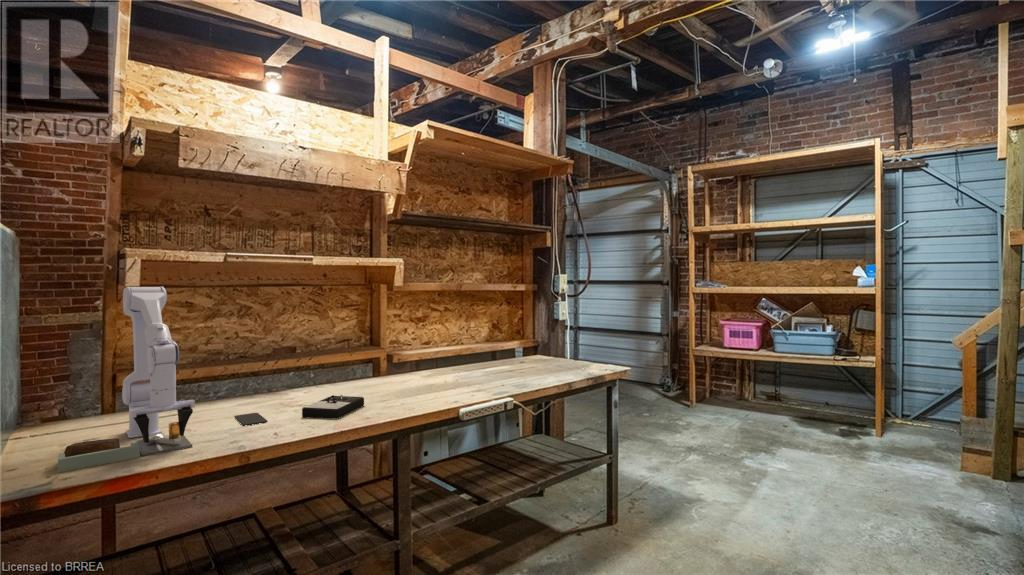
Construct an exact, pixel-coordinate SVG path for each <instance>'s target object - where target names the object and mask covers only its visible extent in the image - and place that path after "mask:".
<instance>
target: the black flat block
mask: <svg viewBox="0 0 1024 575" xmlns="http://www.w3.org/2000/svg"><path fill="white" fill-rule="evenodd" d="M363 405H364V406H365V398H364V397H363V396H347V395H343V394H342V395H341V394H340V395H334V394H333V395H330V396H327V397H324V398H323V399H320V400H318V401H316V402H312V403H310V404H308V405H306V406H303V407H302V408H301V409H302V410H301V417H302V418H306V417H313V418H312V419H325V418H338V419H340V418H342V417H344V416H343V415H345V414H347V413H349V412H351V411H353V410H355V409H357V408H359V407H361V406H363ZM364 406H363V407H364ZM361 408H362V407H361ZM359 409H360V408H359ZM357 410H358V409H357ZM355 411H356V410H355ZM353 412H354V411H353ZM351 413H352V412H351ZM349 414H350V413H349ZM347 415H348V414H347ZM341 416H342V417H341ZM345 416H346V415H345ZM339 417H340V418H339Z"/></svg>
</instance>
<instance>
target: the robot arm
mask: <svg viewBox="0 0 1024 575" xmlns="http://www.w3.org/2000/svg"><path fill="white" fill-rule="evenodd" d="M167 296H168V295H167V289H166V288H165V287H164V286H163V285H162V286H126V287H125V288H124V289H123V291H122V309H123V310H122V311H123V315H125V316H128V317H130V319H131V322H132V342H133V344H132V345H133V346H132V347H133V371H132V372H131V373H130V374H129V375H127V376H125V377H124V378H123V381H122V389H121V390H122V391H121V397H122V402H123V404H124V405H127V406H128V429H126V430H125V433H126V436H127V437H128V438H129V439H133V438H138V437H142V440H143V442H145V443H149V435H150V434H154V433H163V430H162V429H161V428H160V425H159V424H160V420H159V419H160V416H159V415H160V413H166V412H171V411H177V416H178V417H177V418H178V421H177V422H181V436H183V435H184V436H185V430H186V427H187V424H188V422H189V420H190V417H191V416H192V414H193V412H194V411H193V410H194V409H193V408H196V407H195V406H196V403H195V402H196V401H195V399H187V400H179V401H178V400H177V388H176V387H177V369H176V368H177V366H176V365H178V363H179V361H180V360H179V359H180V351H179V350H180V349H179V346H178V344H177V343H176V341H175V340H173V338H172V336H171V331H170V328H169V326H168V325H167V324H165V323H164V322H163V317H162V316H163V315H162V311H163V309H164V308H165V305H166V304H167V300H168V299H167Z"/></svg>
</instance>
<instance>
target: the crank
mask: <svg viewBox="0 0 1024 575" xmlns="http://www.w3.org/2000/svg"><path fill="white" fill-rule="evenodd" d="M168 435H169V436H168ZM155 442H160V443H169V444H176V443H179V442H181V422H179V421H173V422H170V423H168V434H165V433H164V432H162V433H154V434H150V435H149V443H155Z"/></svg>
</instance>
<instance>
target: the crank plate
mask: <svg viewBox="0 0 1024 575" xmlns="http://www.w3.org/2000/svg"><path fill="white" fill-rule="evenodd" d="M167 435H168V436H169V434H167ZM136 441H137V443H138V445H139V453H140V454H141V456H142V457H148V456H150V455H157V454H163V452H164V453H167V452H169V453H170V452H174V451H179V450H183V448H185V449H189V448H188V447H190V448H193V444H192V443H191V441H190V440H188V438H187V437H186V436H185V434H184V435H183V436H181V442H179V443H176V444H169V443H160V442H155V443H145V442H143V439H140V440H136ZM173 450H174V451H173Z"/></svg>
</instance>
